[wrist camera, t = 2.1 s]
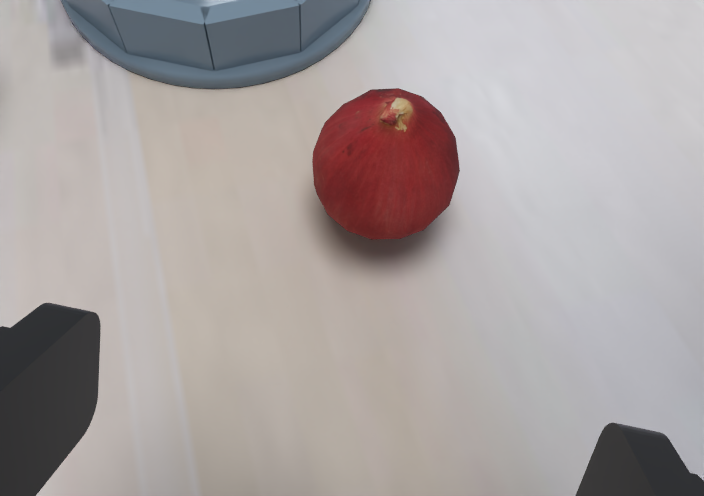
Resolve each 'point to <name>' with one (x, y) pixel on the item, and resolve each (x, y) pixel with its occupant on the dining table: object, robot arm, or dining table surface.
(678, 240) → the dining table surface
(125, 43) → the bowl
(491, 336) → the dining table surface
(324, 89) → the dining table surface
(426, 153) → the onion
